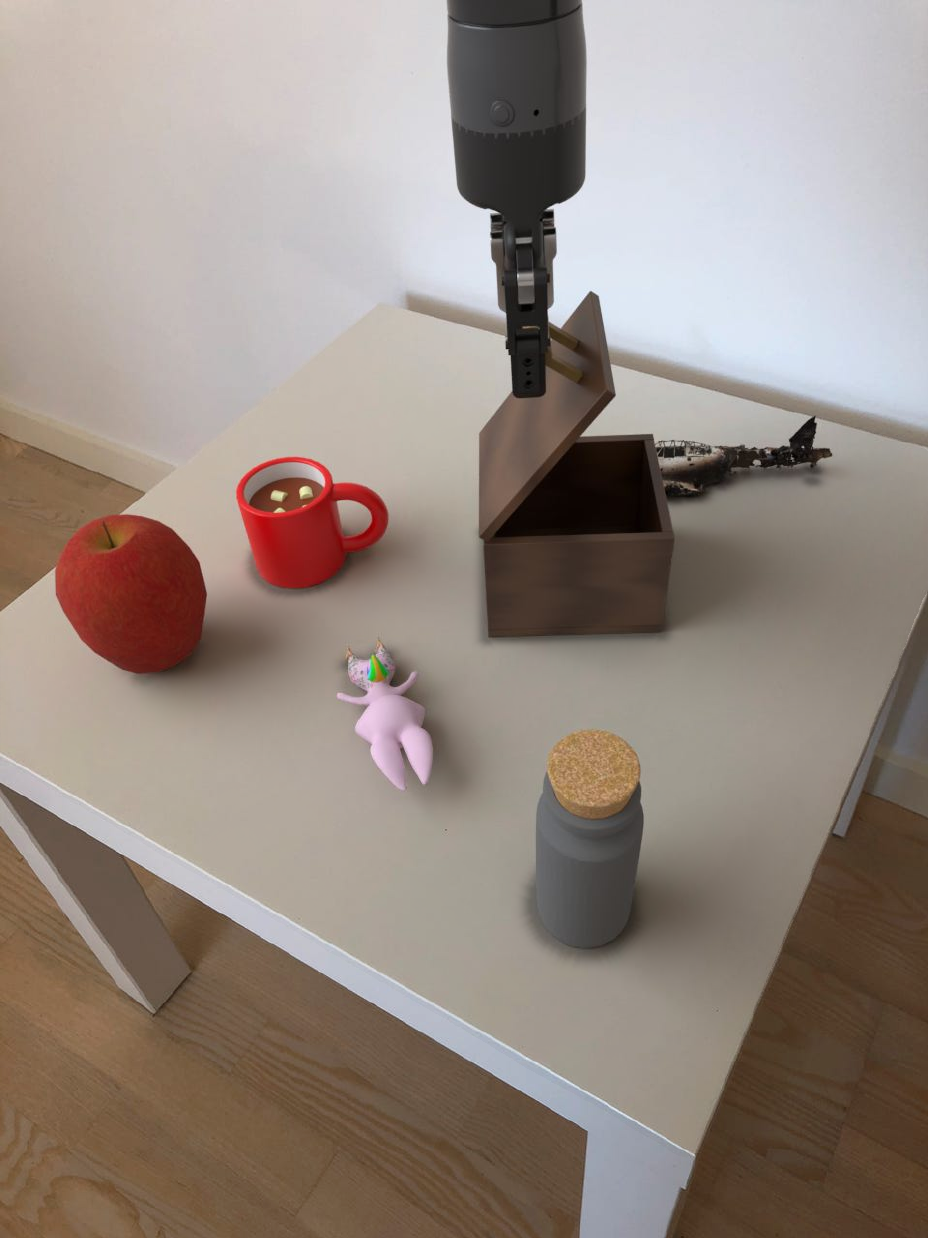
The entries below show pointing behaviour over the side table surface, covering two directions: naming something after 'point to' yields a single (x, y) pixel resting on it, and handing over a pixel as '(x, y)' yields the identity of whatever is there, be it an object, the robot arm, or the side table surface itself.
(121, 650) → the apple
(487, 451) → the lid
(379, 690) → the pink creature figurine
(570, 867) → the bottle
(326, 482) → the mug
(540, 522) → the chest
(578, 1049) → the side table surface
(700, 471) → the airplane wreck
